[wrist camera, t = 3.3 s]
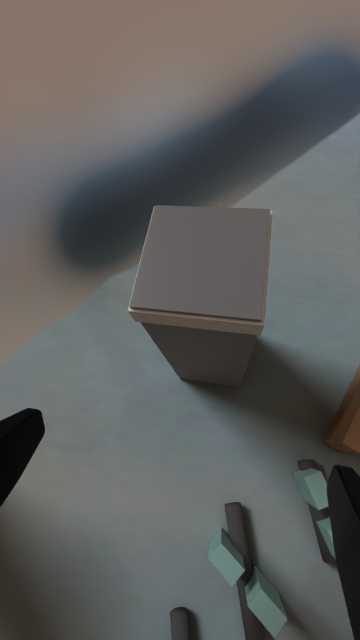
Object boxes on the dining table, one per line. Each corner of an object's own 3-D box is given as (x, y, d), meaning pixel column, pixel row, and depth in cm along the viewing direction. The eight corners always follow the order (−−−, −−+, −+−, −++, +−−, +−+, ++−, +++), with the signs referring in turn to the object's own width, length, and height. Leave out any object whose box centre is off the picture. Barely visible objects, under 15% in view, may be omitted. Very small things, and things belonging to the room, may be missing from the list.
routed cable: (397, 774, 14) (410, 797, 13) (186, 783, 15) (184, 806, 14) (311, 459, 19) (316, 460, 18) (160, 478, 20) (157, 480, 19)
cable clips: (361, 513, 18) (386, 527, 15) (201, 755, 15) (196, 827, 12) (282, 445, 20) (292, 446, 17) (128, 648, 17) (110, 689, 14)
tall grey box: (242, 389, 21) (264, 323, 9) (178, 380, 22) (126, 308, 10) (247, 328, 23) (273, 207, 11) (188, 322, 24) (152, 203, 12)
